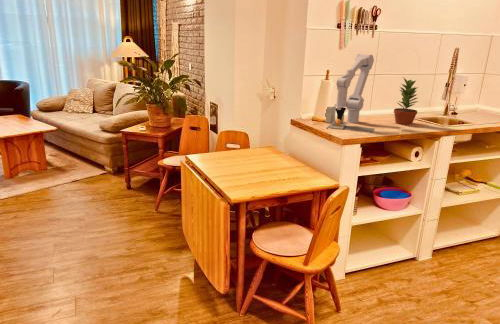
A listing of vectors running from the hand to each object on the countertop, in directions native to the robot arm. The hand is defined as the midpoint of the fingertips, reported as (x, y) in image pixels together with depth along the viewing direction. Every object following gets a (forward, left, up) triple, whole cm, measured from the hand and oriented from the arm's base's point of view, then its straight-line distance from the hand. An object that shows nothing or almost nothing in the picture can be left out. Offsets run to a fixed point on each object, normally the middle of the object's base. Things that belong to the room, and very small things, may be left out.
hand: (339, 119), depth 241 cm
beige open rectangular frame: (+5, 0, -3) cm, 6 cm away
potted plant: (-31, +37, -5) cm, 48 cm away
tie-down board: (+5, +8, -4) cm, 11 cm away
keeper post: (+6, 0, -4) cm, 7 cm away
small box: (-12, -10, -5) cm, 16 cm away
